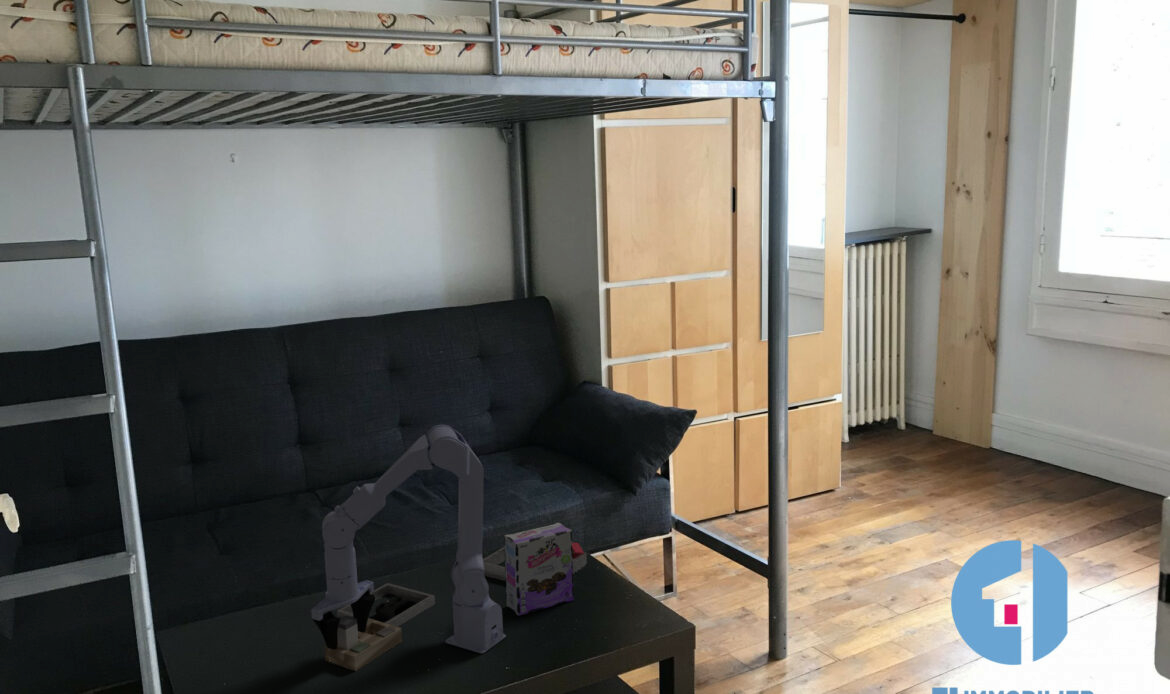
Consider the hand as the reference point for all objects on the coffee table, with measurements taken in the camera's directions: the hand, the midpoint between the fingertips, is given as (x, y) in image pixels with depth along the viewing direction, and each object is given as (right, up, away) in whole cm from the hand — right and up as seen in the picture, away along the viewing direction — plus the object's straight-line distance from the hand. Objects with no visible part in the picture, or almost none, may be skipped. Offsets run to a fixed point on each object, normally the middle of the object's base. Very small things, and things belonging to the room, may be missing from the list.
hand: (346, 639), depth 185 cm
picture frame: (+4, 0, +20) cm, 20 cm away
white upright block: (0, -4, +1) cm, 4 cm away
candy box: (+37, +1, +22) cm, 43 cm away
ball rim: (+34, +4, +39) cm, 52 cm away
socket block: (+3, -3, +3) cm, 5 cm away
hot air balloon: (+39, +4, +40) cm, 55 cm away
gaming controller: (+6, -1, +19) cm, 20 cm away
